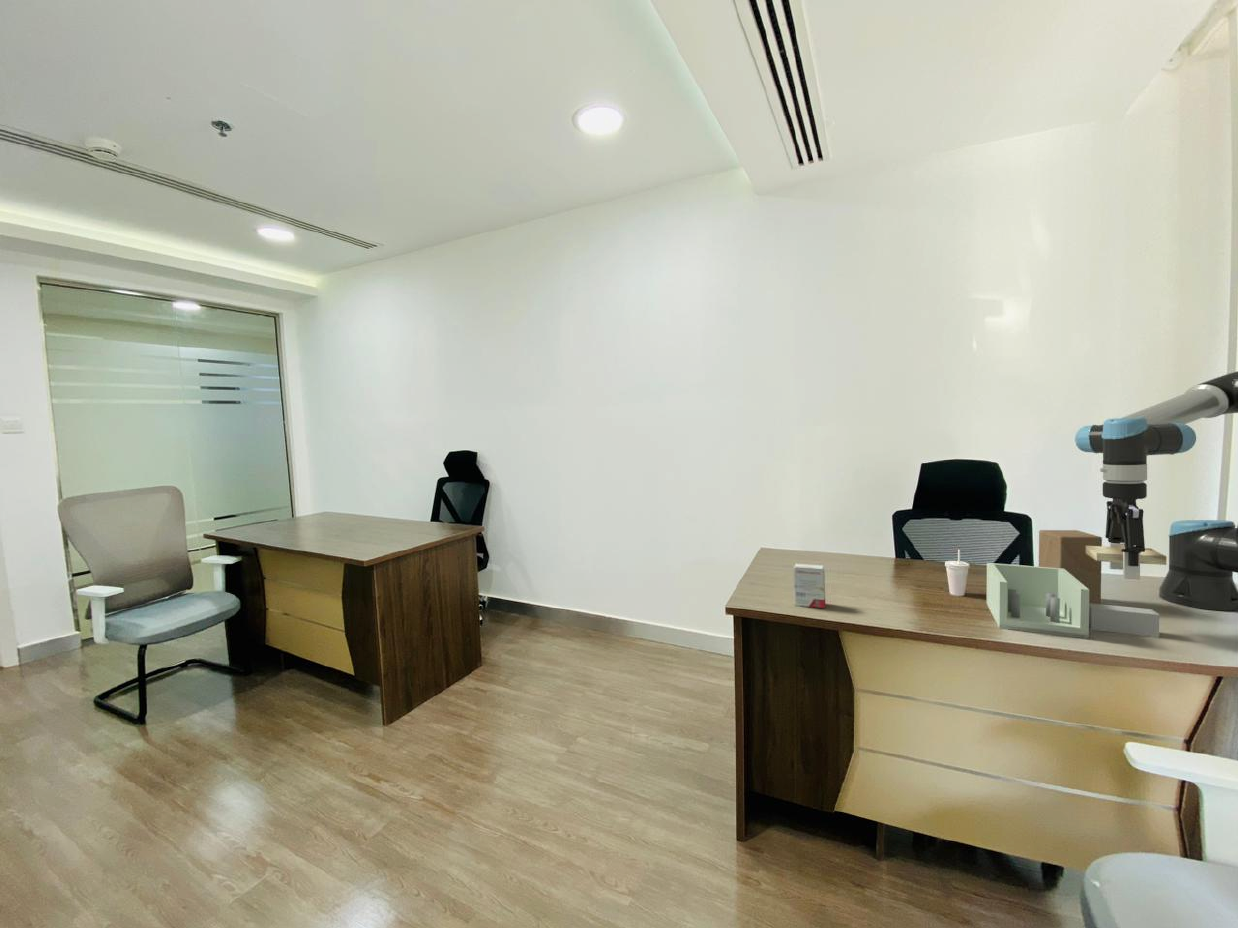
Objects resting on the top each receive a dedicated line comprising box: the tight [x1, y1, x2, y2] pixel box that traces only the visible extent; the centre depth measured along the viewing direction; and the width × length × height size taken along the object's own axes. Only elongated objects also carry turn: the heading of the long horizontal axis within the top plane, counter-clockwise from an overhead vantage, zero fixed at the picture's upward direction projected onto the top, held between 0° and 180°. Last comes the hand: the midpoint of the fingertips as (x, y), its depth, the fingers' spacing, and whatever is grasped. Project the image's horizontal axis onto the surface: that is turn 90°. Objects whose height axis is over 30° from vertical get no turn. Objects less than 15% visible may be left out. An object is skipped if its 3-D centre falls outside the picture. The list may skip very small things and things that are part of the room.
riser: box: [1089, 603, 1160, 639], centre depth 122 cm, size 12×4×6 cm, turn 61°
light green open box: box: [986, 562, 1090, 640], centre depth 130 cm, size 17×20×12 cm
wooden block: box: [1038, 529, 1103, 604], centre depth 142 cm, size 10×10×20 cm
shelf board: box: [1086, 545, 1167, 566], centre depth 121 cm, size 12×8×2 cm, turn 61°
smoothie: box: [944, 548, 971, 597], centre depth 152 cm, size 6×6×14 cm
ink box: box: [793, 563, 826, 609], centre depth 147 cm, size 9×5×12 cm, turn 65°
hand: (1124, 573), depth 121 cm, fingers closed on shelf board, 8 cm apart
